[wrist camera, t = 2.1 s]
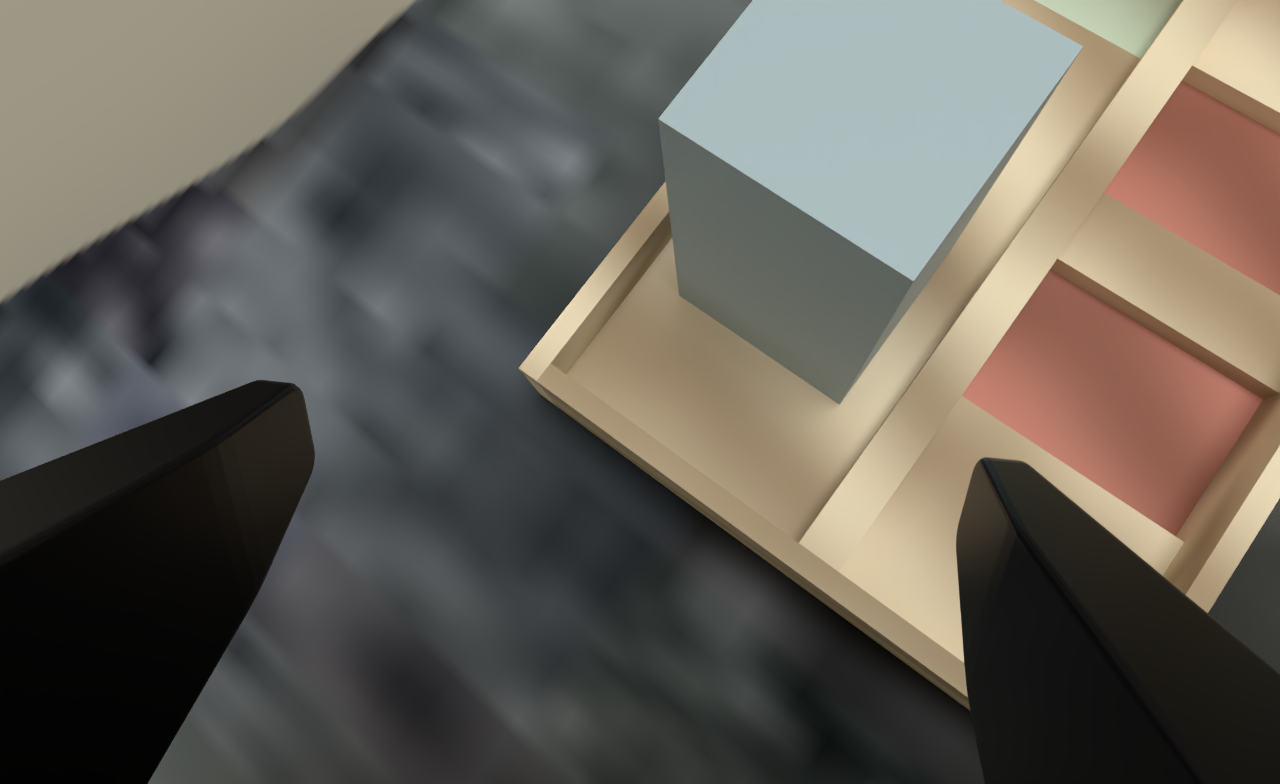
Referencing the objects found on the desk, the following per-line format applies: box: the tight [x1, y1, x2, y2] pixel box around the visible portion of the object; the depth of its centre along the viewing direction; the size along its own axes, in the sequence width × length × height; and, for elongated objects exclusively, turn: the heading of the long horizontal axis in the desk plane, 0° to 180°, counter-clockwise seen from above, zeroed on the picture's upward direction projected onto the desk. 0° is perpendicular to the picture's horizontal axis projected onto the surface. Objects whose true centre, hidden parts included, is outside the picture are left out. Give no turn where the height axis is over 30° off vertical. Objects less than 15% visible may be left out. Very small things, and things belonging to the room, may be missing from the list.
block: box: [658, 0, 1083, 405], centre depth 18 cm, size 4×4×8 cm
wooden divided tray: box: [519, 0, 1280, 711], centre depth 21 cm, size 21×14×2 cm, turn 143°
